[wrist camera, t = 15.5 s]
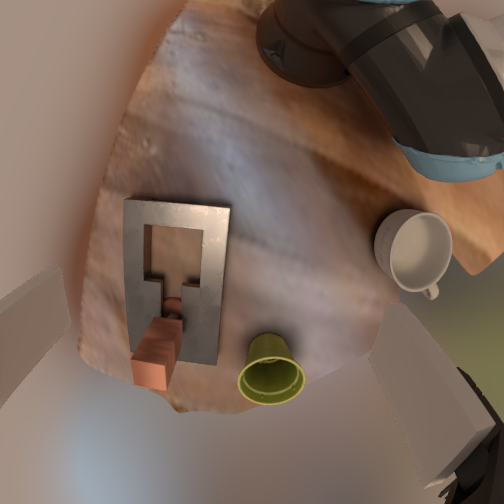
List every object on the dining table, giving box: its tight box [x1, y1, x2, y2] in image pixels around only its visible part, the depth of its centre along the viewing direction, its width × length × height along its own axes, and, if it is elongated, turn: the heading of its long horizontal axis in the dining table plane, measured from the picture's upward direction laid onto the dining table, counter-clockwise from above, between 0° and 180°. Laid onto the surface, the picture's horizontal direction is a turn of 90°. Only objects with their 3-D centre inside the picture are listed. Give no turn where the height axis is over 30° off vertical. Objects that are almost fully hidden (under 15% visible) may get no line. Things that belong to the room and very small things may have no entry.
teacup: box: [374, 209, 452, 300], centre depth 37 cm, size 14×11×8 cm
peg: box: [131, 297, 182, 391], centre depth 37 cm, size 6×6×15 cm
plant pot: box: [238, 333, 306, 405], centre depth 42 cm, size 9×9×9 cm
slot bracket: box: [123, 196, 231, 366], centre depth 40 cm, size 14×24×3 cm, turn 173°
